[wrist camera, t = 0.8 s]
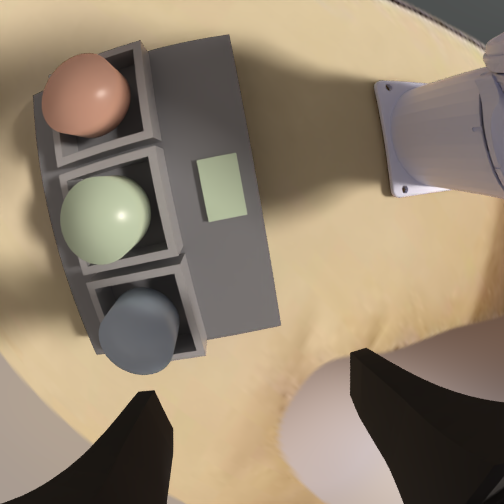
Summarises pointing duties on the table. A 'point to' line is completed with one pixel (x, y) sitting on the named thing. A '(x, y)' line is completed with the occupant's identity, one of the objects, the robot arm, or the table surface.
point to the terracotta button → (85, 97)
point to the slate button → (140, 331)
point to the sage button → (104, 218)
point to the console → (173, 195)
